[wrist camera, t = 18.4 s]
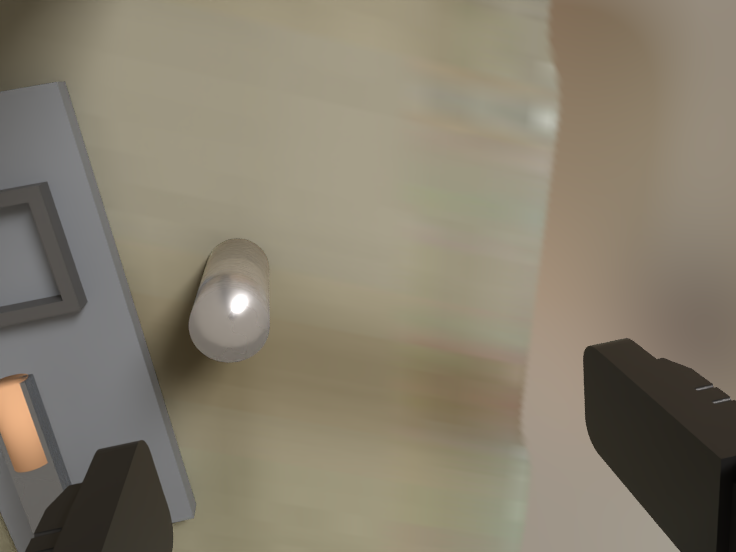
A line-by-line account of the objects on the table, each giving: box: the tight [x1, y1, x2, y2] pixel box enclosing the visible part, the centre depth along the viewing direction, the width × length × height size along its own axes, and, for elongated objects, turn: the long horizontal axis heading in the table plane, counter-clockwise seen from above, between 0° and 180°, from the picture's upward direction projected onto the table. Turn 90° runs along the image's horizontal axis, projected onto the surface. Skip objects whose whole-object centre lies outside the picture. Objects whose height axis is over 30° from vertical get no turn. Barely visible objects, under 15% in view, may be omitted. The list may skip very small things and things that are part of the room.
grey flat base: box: [0, 82, 196, 552], centre depth 37 cm, size 30×12×8 cm, turn 9°
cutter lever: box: [0, 374, 72, 535], centre depth 37 cm, size 17×2×2 cm, turn 9°
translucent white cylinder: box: [189, 239, 270, 362], centre depth 36 cm, size 4×4×10 cm
